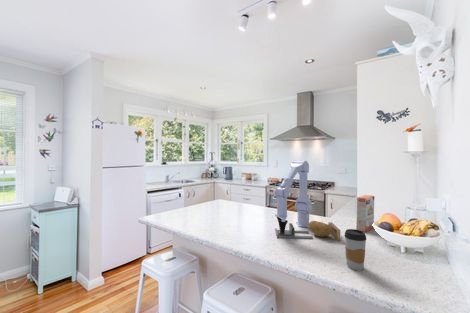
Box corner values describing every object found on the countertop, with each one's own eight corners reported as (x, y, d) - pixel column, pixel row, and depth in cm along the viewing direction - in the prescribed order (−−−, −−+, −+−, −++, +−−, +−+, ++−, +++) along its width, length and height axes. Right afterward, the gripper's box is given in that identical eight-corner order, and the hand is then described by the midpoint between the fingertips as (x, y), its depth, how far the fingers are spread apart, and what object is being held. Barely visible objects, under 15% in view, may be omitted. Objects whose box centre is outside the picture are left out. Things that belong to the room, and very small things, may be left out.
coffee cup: (358, 262, 101) (359, 228, 100) (370, 271, 92) (371, 235, 92) (340, 262, 100) (340, 228, 100) (350, 272, 92) (350, 235, 92)
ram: (277, 231, 139) (277, 220, 139) (291, 231, 138) (291, 221, 138) (278, 236, 130) (278, 225, 130) (294, 237, 129) (294, 225, 129)
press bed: (275, 230, 142) (275, 221, 142) (331, 232, 139) (331, 222, 139) (277, 238, 128) (277, 228, 128) (340, 240, 125) (340, 230, 125)
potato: (328, 241, 124) (328, 227, 124) (305, 234, 134) (305, 221, 134) (336, 237, 130) (336, 223, 130) (314, 230, 141) (314, 218, 141)
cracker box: (366, 232, 138) (366, 198, 137) (356, 230, 142) (356, 197, 142) (374, 227, 147) (374, 195, 146) (364, 225, 151) (364, 194, 151)
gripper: (274, 204, 142) (274, 226, 142) (276, 210, 127) (276, 234, 128) (285, 204, 141) (285, 226, 141) (289, 210, 127) (289, 234, 127)
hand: (281, 230), depth 134 cm, fingers open, 5 cm apart
